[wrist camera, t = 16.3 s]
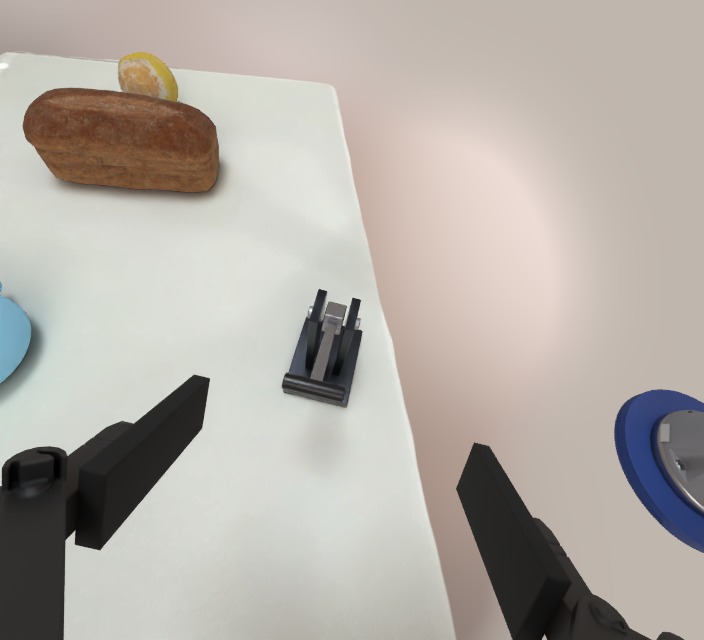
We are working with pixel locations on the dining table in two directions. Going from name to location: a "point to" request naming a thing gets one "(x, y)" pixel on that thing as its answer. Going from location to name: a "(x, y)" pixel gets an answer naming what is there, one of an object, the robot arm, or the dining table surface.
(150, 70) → the fruit
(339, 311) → the lever
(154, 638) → the dining table surface
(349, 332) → the bracket
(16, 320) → the teapot
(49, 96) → the bread
